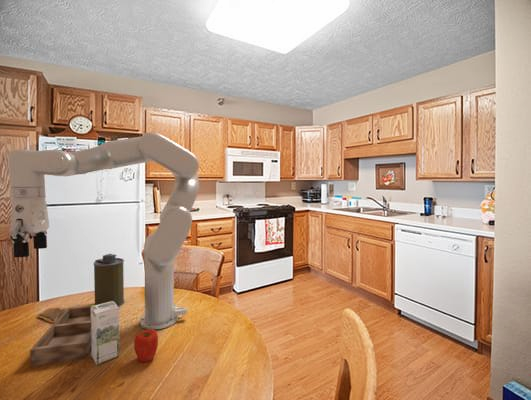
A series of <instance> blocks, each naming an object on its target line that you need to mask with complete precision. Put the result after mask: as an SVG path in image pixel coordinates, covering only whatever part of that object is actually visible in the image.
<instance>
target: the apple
mask: <svg viewBox="0 0 531 400" xmlns="http://www.w3.org/2000/svg"><path fill="white" fill-rule="evenodd" d="M133 339H134V340H133V347H134V353H135V355H136V358H137V359H138V360H139V361H141V362H143V363H147V362H150V361H151V360H153V359H154V357H155V356H156V353H157V349H158V344H159V335H158V332H157V331H156V329H155V330H152V329H145V330H142V331H140V332H138V333H136V335H135V337H134V338H133Z"/></svg>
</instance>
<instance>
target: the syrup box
mask: <svg viewBox="0 0 531 400" xmlns="http://www.w3.org/2000/svg"><path fill="white" fill-rule="evenodd" d="M94 305H95V304H94ZM90 306H91V352H90V356H91V357H92V359H93V362H94V363H95V365H100V364H103V363H106V362H107V361H108V362H109V361H110V360H113V359H115V358H119V357H120V306H119V307H118V306H117V305H116V304H115V302H113V301H110V302H107V303H103V304H99V305H95V306H92V305H90Z"/></svg>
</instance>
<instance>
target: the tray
mask: <svg viewBox="0 0 531 400" xmlns="http://www.w3.org/2000/svg"><path fill="white" fill-rule="evenodd" d="M91 306H95V304H93V305H92V304H91V305H85V306H84V305H83V306H74V307H67V308H66V310H65V311H64V312H63V313H62V314H61V315H60V316H59V318H58V319H57V320H56V322H55V323H52V325H51V326H50V327H49V328H48V329H47V330H46V332H45V333H43V335H42V336H41V337H40V338H39V340H37V342H36V343H35V344H34V345H33V346H32V347H31V348H30V349H29V357H30V359H29V361H30V362H29V363H30V367H38V366H43V365H50V364H57V363H64V362H70V361H77V360H83V359H84V360H85V359H88V358H89V357H90V355H91Z"/></svg>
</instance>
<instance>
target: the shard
mask: <svg viewBox="0 0 531 400" xmlns="http://www.w3.org/2000/svg"><path fill="white" fill-rule="evenodd" d="M66 309H67V308H66V307H62V306H60V307H50V308H49V307H48V308H46V309H44V310H43V311H42V312H40V313H39V314H37V315H36V317H37V318H39V319H43V320H45V321H46V322H48V323H51V324H54V323H55V322H56V320H57V319H58V318H59V317H60V316H61V315H62V314H63V313H64V312H65V310H66Z"/></svg>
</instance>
